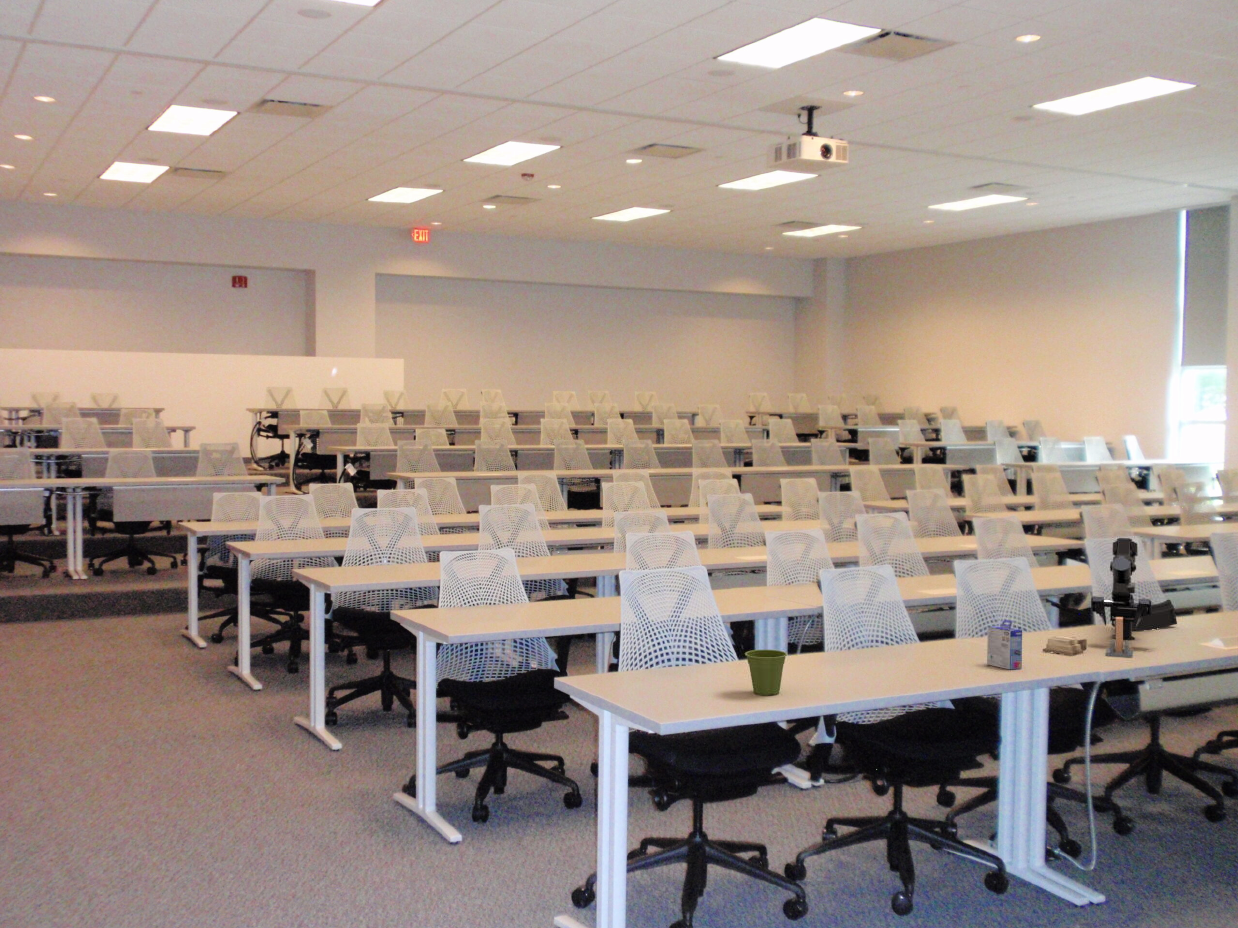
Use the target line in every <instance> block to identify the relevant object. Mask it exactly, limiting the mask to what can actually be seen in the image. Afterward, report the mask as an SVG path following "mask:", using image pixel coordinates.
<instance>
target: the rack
mask: <svg viewBox="0 0 1238 928" xmlns="http://www.w3.org/2000/svg"><path fill="white" fill-rule="evenodd" d="M1087 644H1088V643H1087V638H1081V639H1078V638H1076V637H1075V636H1074V637H1065V636H1060V635H1059V636H1057V635H1056V636H1052V637H1047V643H1046V644H1045V645H1046V647H1045V648H1042V652H1043V651H1046V652H1045V653H1047V652H1053V653H1052V654H1054V653H1059V654H1058V655H1060V654H1064V655H1063V656H1067V655H1069V657H1073V656H1076V655H1077V654H1078V655H1080V654H1081V653H1082V654H1084V651H1086V649H1087V648H1088V647H1087ZM1082 654H1081V655H1082ZM1072 655H1073V656H1072Z"/></svg>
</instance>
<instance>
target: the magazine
mask: <svg viewBox="0 0 1238 928" xmlns="http://www.w3.org/2000/svg"><path fill="white" fill-rule="evenodd" d="M1113 617H1114V616H1113ZM1115 618H1116V617H1115ZM1132 619H1134V617H1132ZM1177 624H1178V620H1177V615H1176V612H1175V606H1174V605H1173V603H1172V600H1171V599H1167V600H1165V601H1162V602H1159V603H1154V604H1152V603H1151V615H1147V616H1146V617H1143V618H1142V619H1141V620H1140V622H1139V623H1138V625H1137V626H1136V627H1135V622H1132V632H1136V631H1138V632H1139V631H1140V632H1141V631H1142V632H1143V631H1144V630H1147V631H1153V630H1152V629H1156V630H1158V629H1157V628H1161V629H1164V628H1167V627H1170V626H1175V625H1177ZM1111 626H1112V627H1113V628H1115V621H1111ZM1144 632H1145V631H1144Z"/></svg>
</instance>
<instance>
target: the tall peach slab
mask: <svg viewBox="0 0 1238 928" xmlns="http://www.w3.org/2000/svg"><path fill="white" fill-rule="evenodd" d="M1115 648H1116V652H1119V653H1122V652H1123V649H1124V639H1123V617H1116V639H1115Z"/></svg>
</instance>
